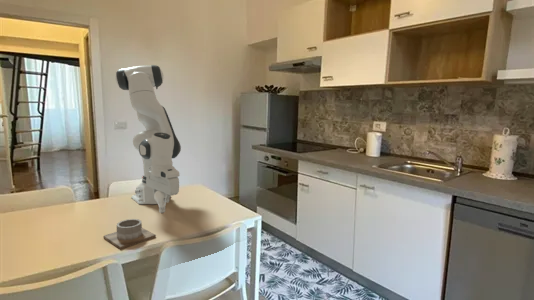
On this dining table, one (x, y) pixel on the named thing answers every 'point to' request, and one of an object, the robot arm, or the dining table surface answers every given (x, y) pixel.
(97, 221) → the dining table surface
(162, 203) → the lightbulb
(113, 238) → the socket base
